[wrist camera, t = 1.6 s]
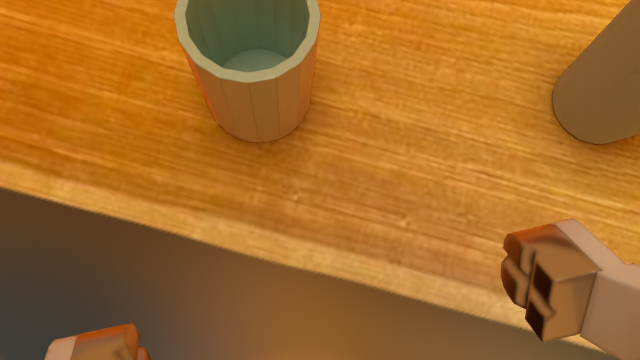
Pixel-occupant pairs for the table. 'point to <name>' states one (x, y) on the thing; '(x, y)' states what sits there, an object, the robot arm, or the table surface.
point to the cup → (604, 84)
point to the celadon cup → (252, 61)
